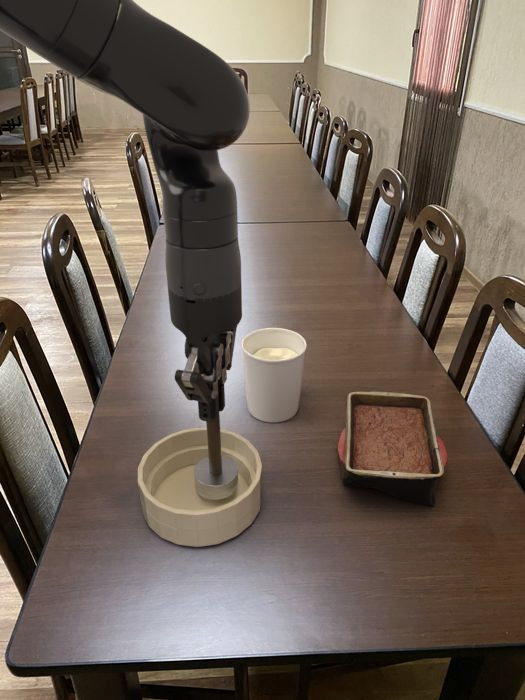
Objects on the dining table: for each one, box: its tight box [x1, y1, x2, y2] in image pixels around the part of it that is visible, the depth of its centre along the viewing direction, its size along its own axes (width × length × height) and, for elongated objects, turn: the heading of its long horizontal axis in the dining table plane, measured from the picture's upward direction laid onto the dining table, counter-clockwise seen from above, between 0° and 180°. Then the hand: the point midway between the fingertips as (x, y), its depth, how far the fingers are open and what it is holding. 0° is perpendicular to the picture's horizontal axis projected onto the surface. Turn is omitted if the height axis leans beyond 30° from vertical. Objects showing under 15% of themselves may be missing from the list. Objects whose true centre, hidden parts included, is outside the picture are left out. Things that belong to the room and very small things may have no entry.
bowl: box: [137, 426, 263, 548], centre depth 68 cm, size 15×15×6 cm
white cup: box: [240, 327, 308, 424], centre depth 84 cm, size 10×10×12 cm
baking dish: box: [336, 390, 448, 508], centre depth 73 cm, size 14×18×10 cm
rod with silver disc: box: [194, 381, 238, 500], centre depth 65 cm, size 6×6×16 cm
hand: (212, 413), depth 64 cm, fingers closed on rod with silver disc
